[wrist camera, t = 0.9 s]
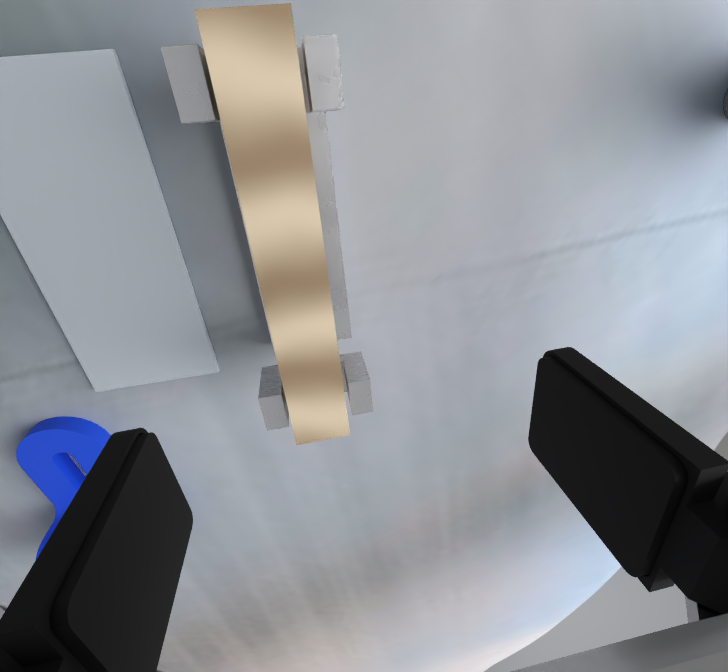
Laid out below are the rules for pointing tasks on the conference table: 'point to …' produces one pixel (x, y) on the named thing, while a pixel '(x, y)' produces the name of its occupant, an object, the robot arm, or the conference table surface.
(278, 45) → the rail
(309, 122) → the rail stand
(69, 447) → the bracket
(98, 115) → the mat
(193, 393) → the conference table surface
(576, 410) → the robot arm
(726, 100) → the beverage cup
